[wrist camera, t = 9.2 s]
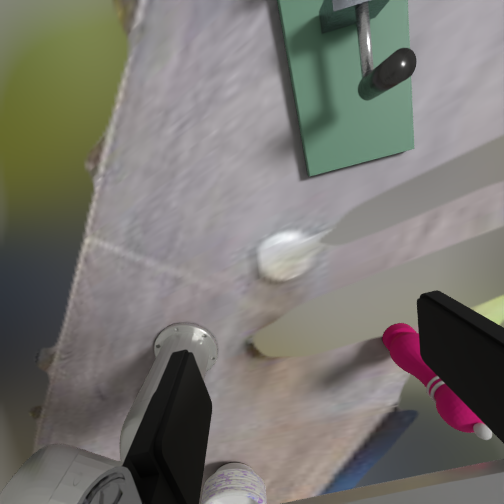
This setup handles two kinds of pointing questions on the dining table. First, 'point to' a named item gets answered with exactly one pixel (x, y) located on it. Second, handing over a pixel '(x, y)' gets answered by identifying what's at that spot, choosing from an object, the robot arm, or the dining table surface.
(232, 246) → the dining table surface
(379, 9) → the grey mallet
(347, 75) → the pitch board
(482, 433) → the pepper mill
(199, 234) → the dining table surface
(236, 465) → the paper bowls
